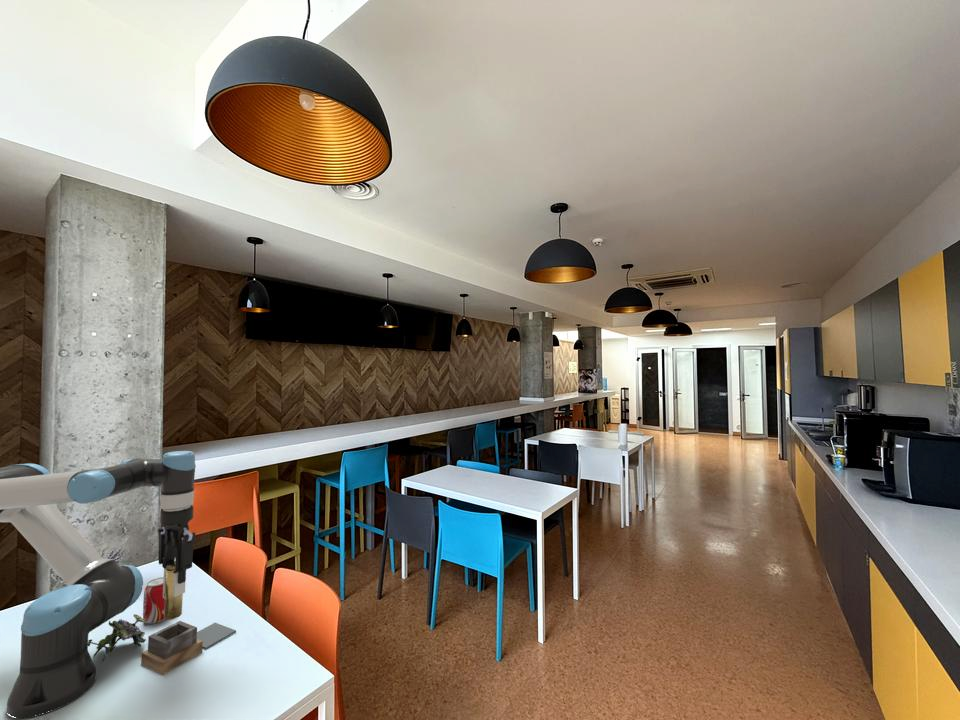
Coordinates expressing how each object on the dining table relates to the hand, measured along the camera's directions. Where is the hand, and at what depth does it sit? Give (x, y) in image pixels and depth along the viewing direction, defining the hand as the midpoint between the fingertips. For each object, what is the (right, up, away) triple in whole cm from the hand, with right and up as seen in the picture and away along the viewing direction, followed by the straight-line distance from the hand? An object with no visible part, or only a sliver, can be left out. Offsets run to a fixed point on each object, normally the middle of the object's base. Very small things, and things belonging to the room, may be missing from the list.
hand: (174, 592), depth 115 cm
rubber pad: (+5, -18, +9) cm, 21 cm away
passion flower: (-16, -18, +1) cm, 24 cm away
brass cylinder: (0, -6, 0) cm, 6 cm away
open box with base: (0, -18, -1) cm, 18 cm away
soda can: (-19, -19, +18) cm, 32 cm away
